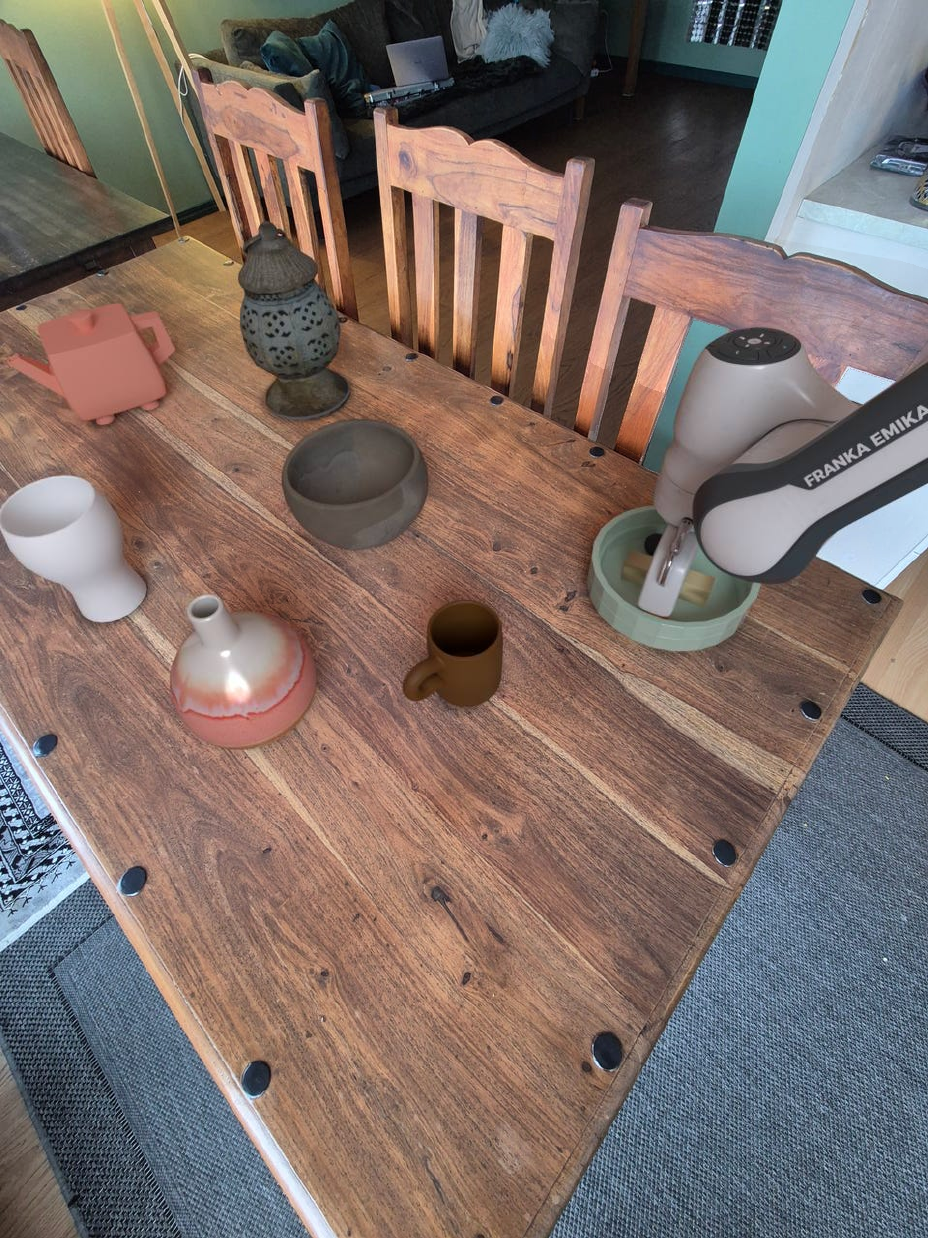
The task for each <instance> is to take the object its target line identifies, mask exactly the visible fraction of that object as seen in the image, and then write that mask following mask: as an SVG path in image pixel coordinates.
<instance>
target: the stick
mask: <svg viewBox="0 0 928 1238" xmlns="http://www.w3.org/2000/svg"><path fill="white" fill-rule="evenodd" d="M651 560H652V556H649V555H646V554H643V553H640V552H637V551H634V550H631V551H630V553H629V555H628V558H627V560H626V562H625V564H624V568H623V572H622V576H621V579H624V580H627V581H630V582H633V583H636V584H639V585H641V586H642V585H643V582H644V579H645V576H646V573H647V570H648V568H649V565H650V562H651ZM714 581H715V577H712V576H709V575H706V574H703V573H700V572H697V571H694V570H691V569H690V571H689V574H688V576H687V578H686V581H685V583H684V585H683V588H682V590H681V593H680V595H679V597H678V598H679V599H682V600H685V601H688V602H690V603H693V604H696V605H699V606H702V607H704V606H705V603H706V601H707V599H708V597H709V594H710V592H711V589H712V587H713V584H714Z"/></svg>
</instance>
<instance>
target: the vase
mask: <svg viewBox="0 0 928 1238" xmlns="http://www.w3.org/2000/svg"><path fill="white" fill-rule="evenodd" d="M186 616H187V618H188V619H189V622H190V624H191V625H192V627H193V630H192V631H191V632H190V633H189V634H188V635H187V636H186V638H185V639H184V640H183V642H182V643H181V644H180V646H179V648H178V650H176V651H177V652H176V653H175V655H174V658H173V660H172V664H171V667H170V673H169V691H170V696H171V700H172V704H173V706H174V709H175V710H176V714H177V716H178V717H179V719H180V721H181V722H182V723H183V724H184V726H185V727H186V728H187V729H188V730H189V731H190V732H191V733H192V734H193V735H194V736H195V737H196V738H198V739H200V740H201V741H203V742H205V743H206V744H209V745H211V746H214V747H216V748H220V749H225V750H232V751H245V750H254V749H258V748H262V747H265V746H267V745H270V744H273V743H274V742H277V741H278V740H280V739H282V738H284V737H285V736H286V735H287V734H289V733H291V732H292V731H293V730H294V729H295V728H296V727H297V726H298V725H299V724H300V723H301V721H302V720H303V719H304V718H305V716H306V715H307V713H308V711H309V709H310V708H311V706H312V703H313V701H314V698H315V694H316V690H317V684H318V673H317V667H316V662H315V658H314V656H313V653H312V650H311V649H310V647H309V645H308V644H307V642H306V640H305V638H303V637H302V636H301V635H300V634H299V632H297V630H296V629H295V628H293V626H291V625H290V624H288V623H287V622H285V621H284V620H282V619H280V618H278V617H276V616H274V615H271V614H268V613H264V612H260V611H254V610H236V611H230V610H229V609H228V607H227V605H226V603H225V602H224V600H223V599H222V597H220V596H219V595H217V594H215V593H203V594H200V595H197V596H196V597H194V598H193V599H192V600H190V602H189V604H188V605H187V608H186Z"/></svg>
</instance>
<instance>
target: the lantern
mask: <svg viewBox="0 0 928 1238" xmlns="http://www.w3.org/2000/svg"><path fill="white" fill-rule="evenodd" d="M257 232H258V234H256V235H254V236H253V237H250V238H249V239H248V240H246V242H245V243H243V246H242V252H244V254H246V258H245V261H244V263H243V264H242V266H241V268H240V270H239V271H238V274H237V282H238V284H239V286H240V287H241V289H242V290H243V292H244V295H243V299H242V302H241V305H240V308H239V328H240V333H241V337H242V340H243V343H244V347H245V350H246V352H247V354H248V355H249V357H250V359H251V360H252V361H253V363H254V365H255V366H257V367H258V368H260V369H261V370H263V371H264V372H267V373H269V374H270V375H272V376H274V377H276V378H275V380H274V381H273V382H272V383H271V384H270V385H269V387H268V389H267V390H266V392H265V400H264V401H265V404H266V406H267V408H268V410H269V411H270V412H271V413H272V414H274V415H275V416H277V417H279V418H281V419H285V420H288V421H298V422H304V421H305V422H306V421H313V420H319V419H321V418H324V417H328V416H330V415H332V414H334V413H336V412H337V411H339V410H340V409H341V408H342V407H344V406H345V405H346V404H347V402H348V400H349V399H350V396H351V387H350V383H349V382H348V380H347V378H345V377H344V376H343V375H341V374H339V372H336V371H335V370H333V369H331V368H328V367H329V366H330V364H331V363H332V362H333V360H334V359H335V358H336V356H337V354H338V350H339V344H340V339H341V333H342V329H341V324H340V318H339V313H338V312H337V310H336V308H335V306H334V304H333V303H332V301H331V299H330V298H329V296H328V295H327V293H326V292H325V290H324V289H323V288H322V287H321V285H320V284H319V283H318V281H317V280H316V279H315V278H316V277H317V275H318V273H319V268H318V264H317V262H316V260H314V258H313V257H311V256H310V255H308V254H307V253H305V252H304V251H301V250H300V249H299V248H298V247H297V245H295V244H294V242H292V241H291V239H290V238H289V237H287V234H286V232H285V231H284V229H282V228H278V227H277V226H276V224H274V223H273V222H271V221H268V220H265V221H262V222H261V223H260V224H259V226H258V228H257Z"/></svg>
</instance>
